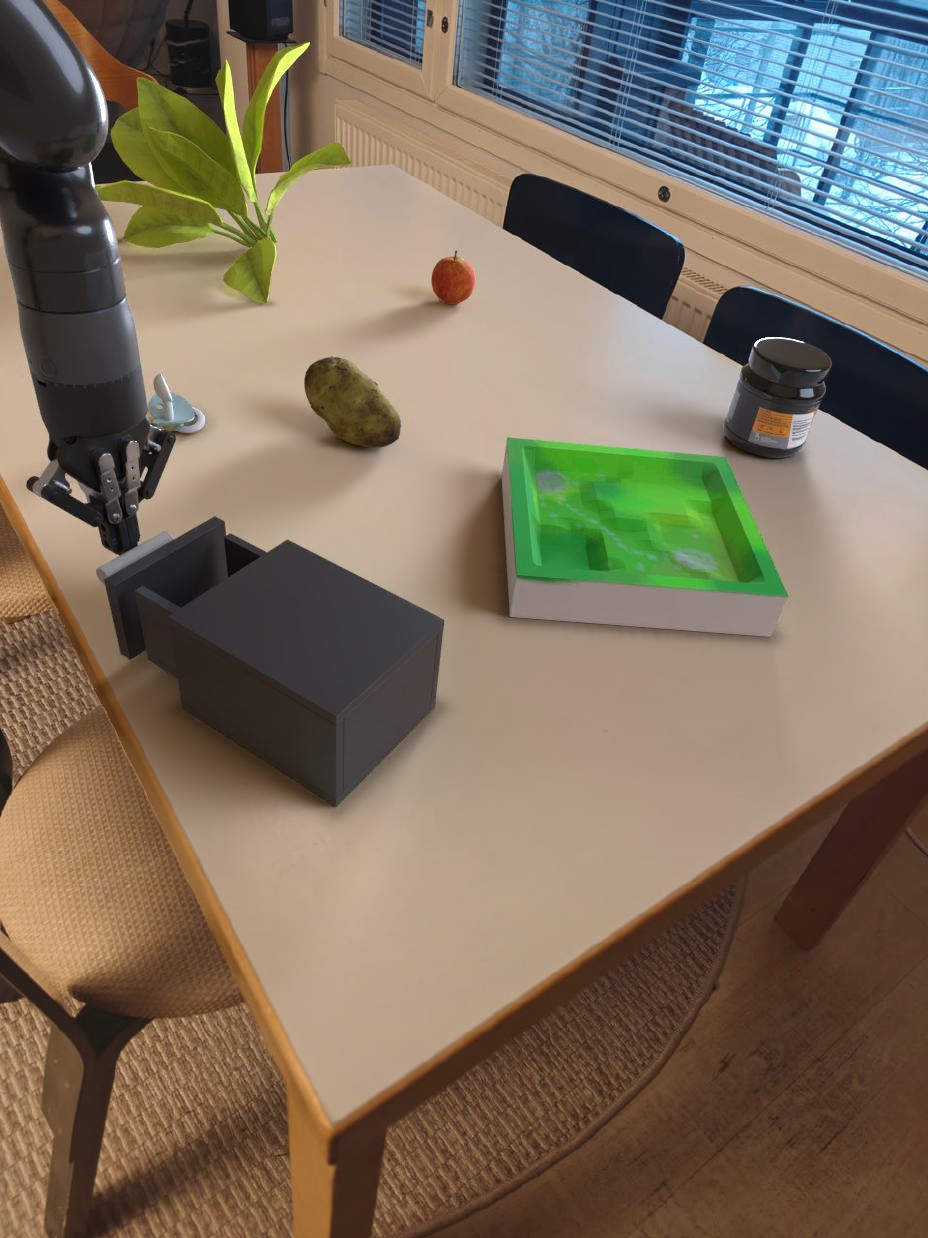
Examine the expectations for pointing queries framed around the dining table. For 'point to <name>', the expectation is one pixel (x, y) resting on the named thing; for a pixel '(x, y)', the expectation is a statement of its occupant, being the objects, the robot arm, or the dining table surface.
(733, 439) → the supplement container
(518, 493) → the tray
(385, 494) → the dining table surface
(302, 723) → the cabinet
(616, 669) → the dining table surface
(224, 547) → the drawer
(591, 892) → the dining table surface
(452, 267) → the fruit
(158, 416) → the pacifier
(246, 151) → the artificial plant
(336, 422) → the potato
